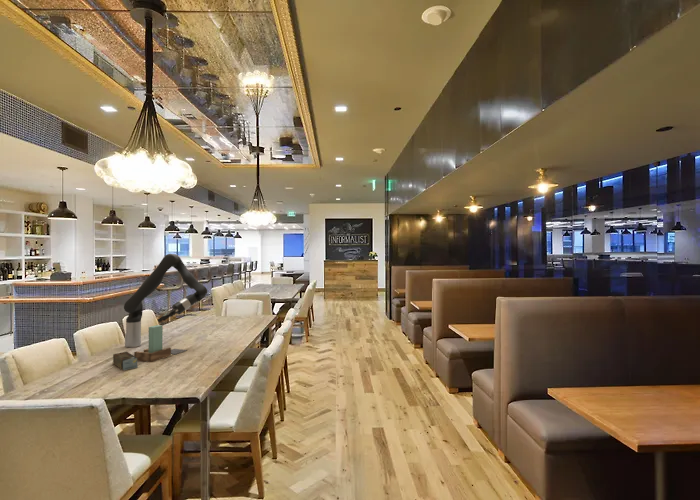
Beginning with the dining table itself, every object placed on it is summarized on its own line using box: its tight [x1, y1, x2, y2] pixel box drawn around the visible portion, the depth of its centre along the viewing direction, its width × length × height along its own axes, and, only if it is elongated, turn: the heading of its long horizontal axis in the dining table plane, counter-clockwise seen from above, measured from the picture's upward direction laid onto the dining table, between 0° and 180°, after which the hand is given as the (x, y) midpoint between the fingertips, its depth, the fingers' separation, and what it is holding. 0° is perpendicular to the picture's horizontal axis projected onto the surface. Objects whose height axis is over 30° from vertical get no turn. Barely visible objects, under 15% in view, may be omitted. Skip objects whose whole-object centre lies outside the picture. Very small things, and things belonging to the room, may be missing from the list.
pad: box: [171, 348, 188, 356], centre depth 254 cm, size 11×11×1 cm
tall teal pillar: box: [148, 324, 164, 353], centre depth 239 cm, size 4×7×20 cm, turn 161°
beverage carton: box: [112, 351, 138, 371], centre depth 223 cm, size 8×19×7 cm, turn 46°
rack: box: [133, 347, 172, 363], centre depth 240 cm, size 14×16×5 cm
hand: (160, 320), depth 247 cm, fingers open, 8 cm apart
